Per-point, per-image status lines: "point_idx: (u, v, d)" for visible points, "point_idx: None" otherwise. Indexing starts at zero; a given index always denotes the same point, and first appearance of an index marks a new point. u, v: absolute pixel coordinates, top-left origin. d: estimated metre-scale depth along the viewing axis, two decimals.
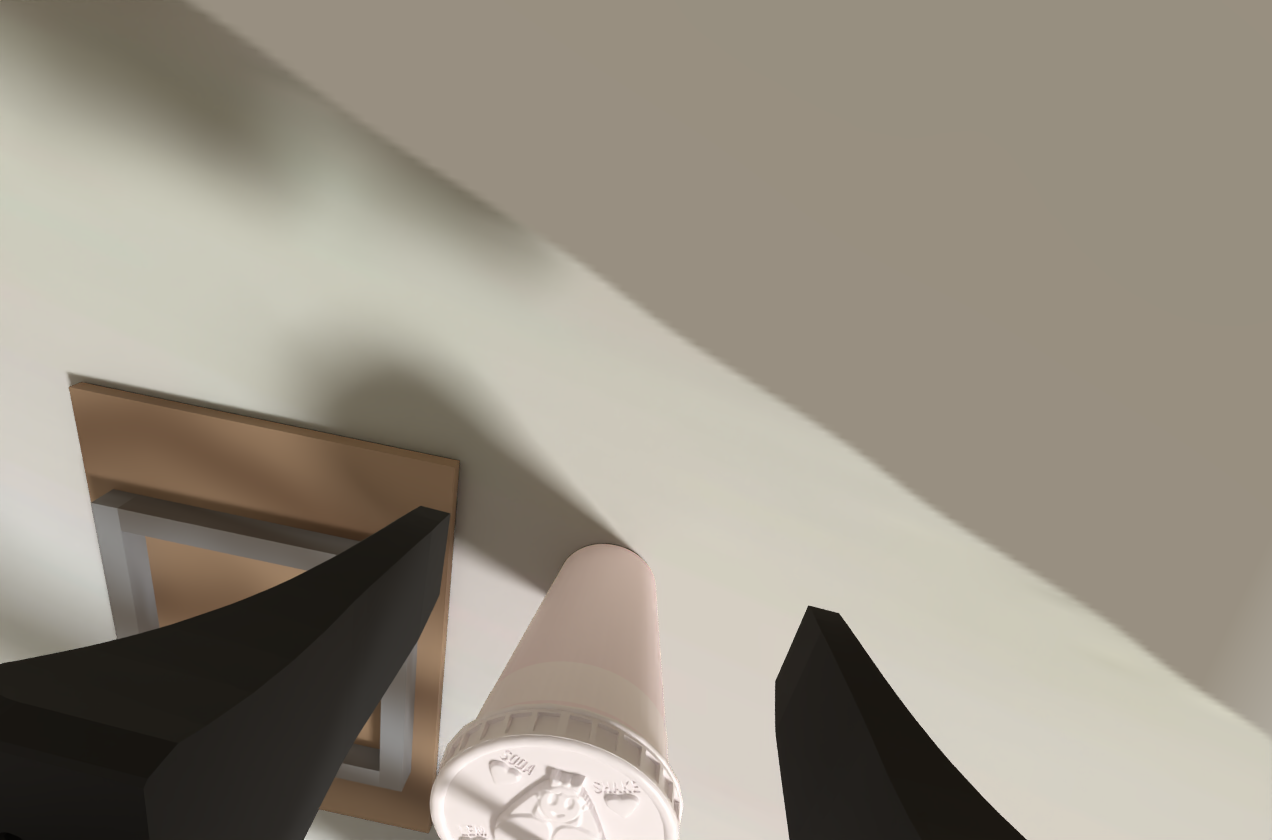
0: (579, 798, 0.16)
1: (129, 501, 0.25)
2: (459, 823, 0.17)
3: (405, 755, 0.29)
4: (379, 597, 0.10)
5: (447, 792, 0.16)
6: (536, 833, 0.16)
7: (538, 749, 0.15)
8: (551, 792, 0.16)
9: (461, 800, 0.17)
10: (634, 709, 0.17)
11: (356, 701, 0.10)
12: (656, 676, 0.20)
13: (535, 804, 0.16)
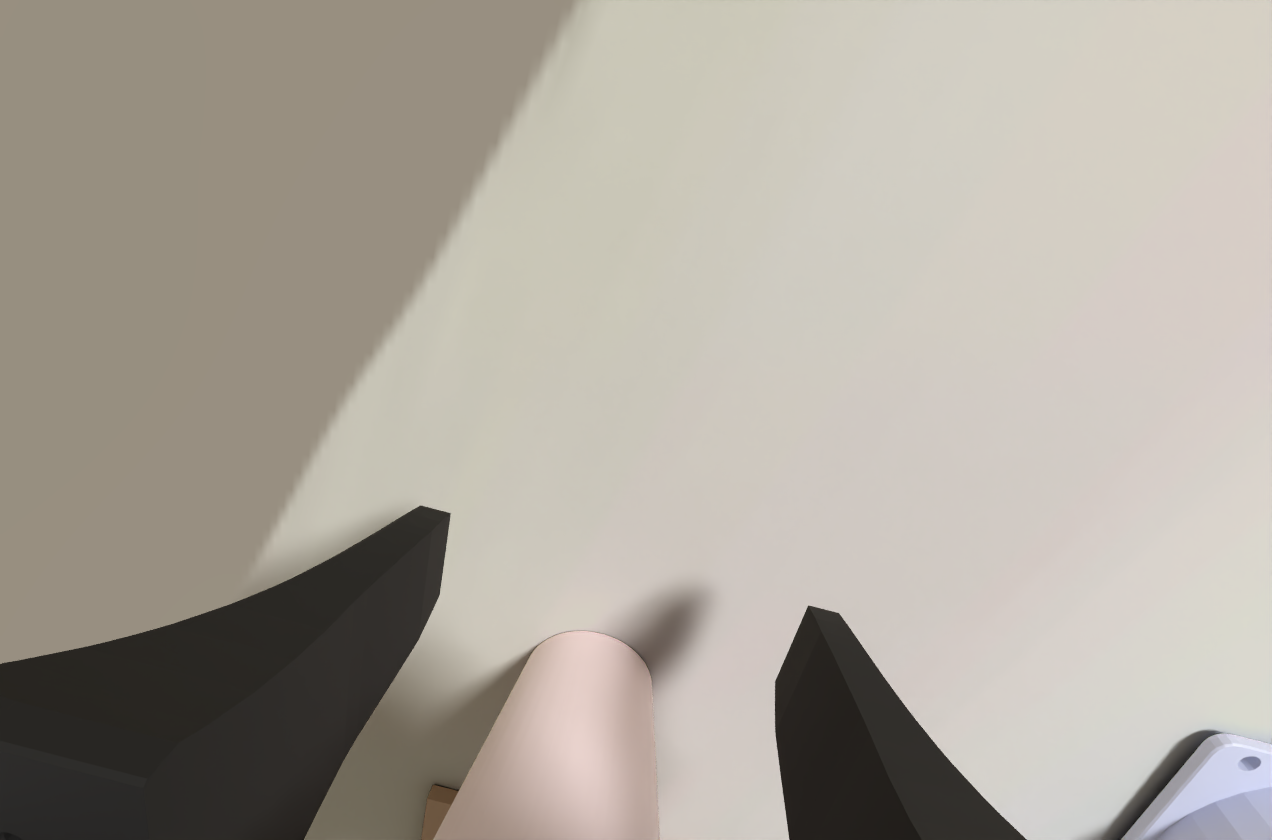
0: None
1: None
2: None
3: None
4: (379, 597, 0.10)
5: None
6: None
7: None
8: None
9: None
10: None
11: (356, 701, 0.10)
12: (492, 796, 0.13)
13: None
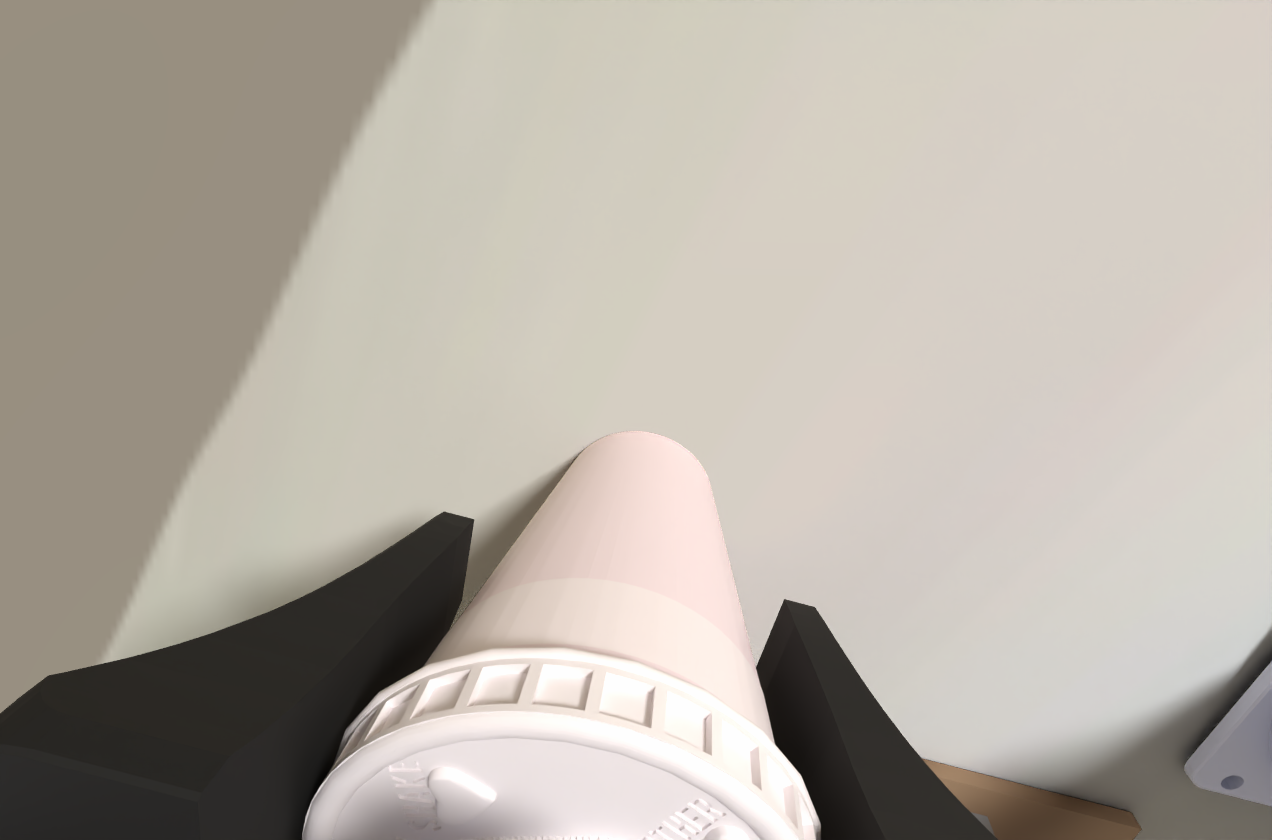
0: None
1: None
2: None
3: None
4: (408, 605, 0.10)
5: None
6: None
7: None
8: None
9: None
10: (439, 651, 0.09)
11: None
12: (546, 542, 0.11)
13: None
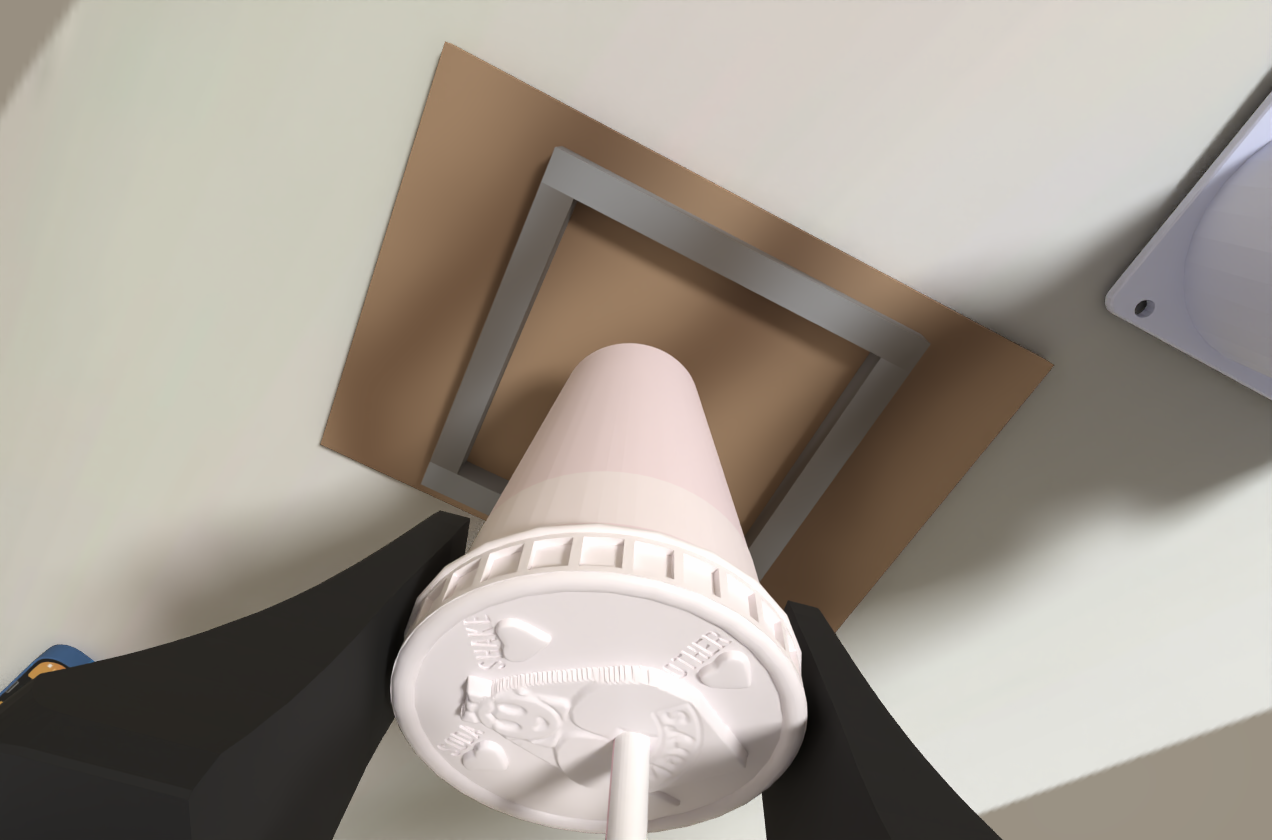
0: (498, 696, 0.10)
1: None
2: (607, 809, 0.11)
3: (871, 312, 0.19)
4: (403, 604, 0.10)
5: (540, 812, 0.11)
6: (593, 750, 0.10)
7: (422, 719, 0.10)
8: (493, 724, 0.10)
9: (557, 801, 0.11)
10: (484, 535, 0.11)
11: (380, 707, 0.10)
12: (564, 443, 0.12)
13: (528, 742, 0.10)
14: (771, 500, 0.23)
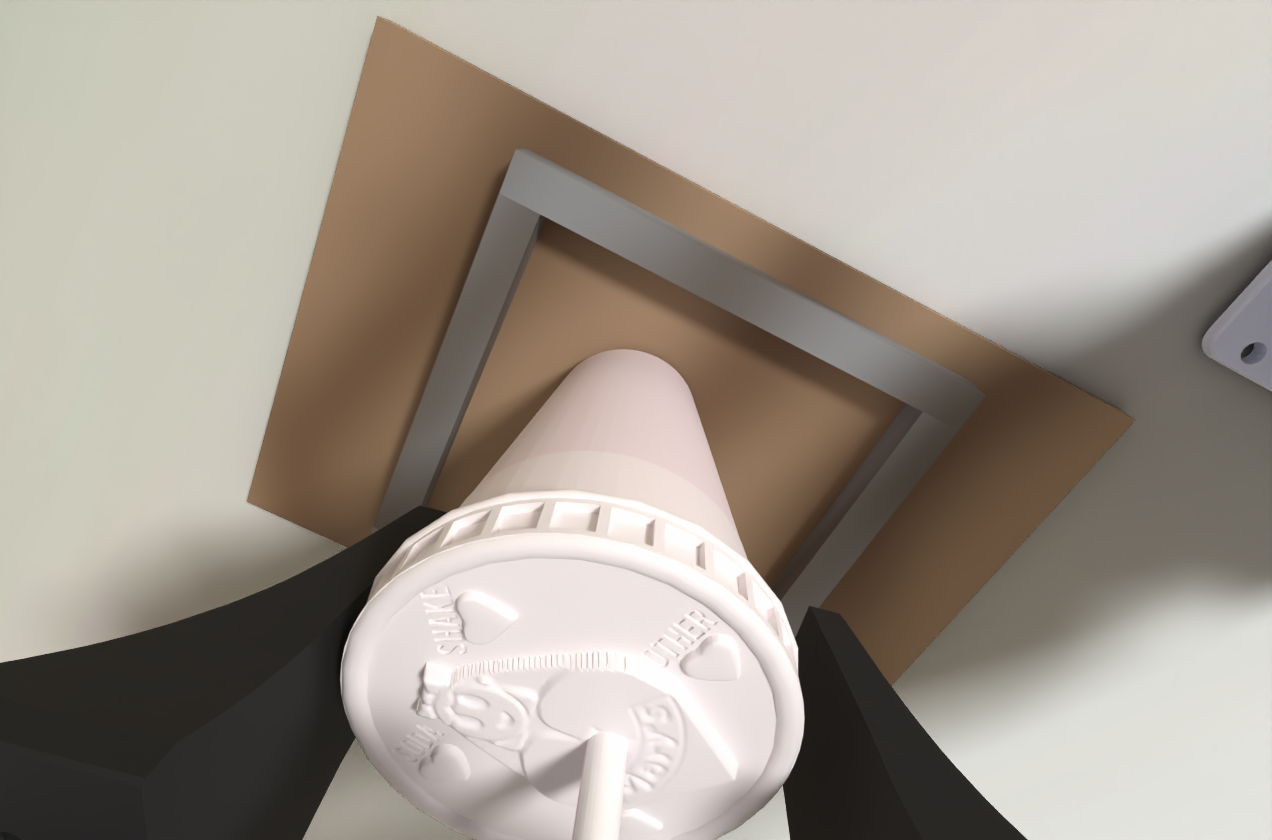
0: (458, 685, 0.09)
1: None
2: None
3: (912, 356, 0.16)
4: None
5: (506, 835, 0.10)
6: (564, 755, 0.09)
7: (374, 715, 0.09)
8: (452, 720, 0.09)
9: (525, 822, 0.10)
10: None
11: None
12: (547, 430, 0.12)
13: (491, 744, 0.09)
14: (783, 574, 0.19)
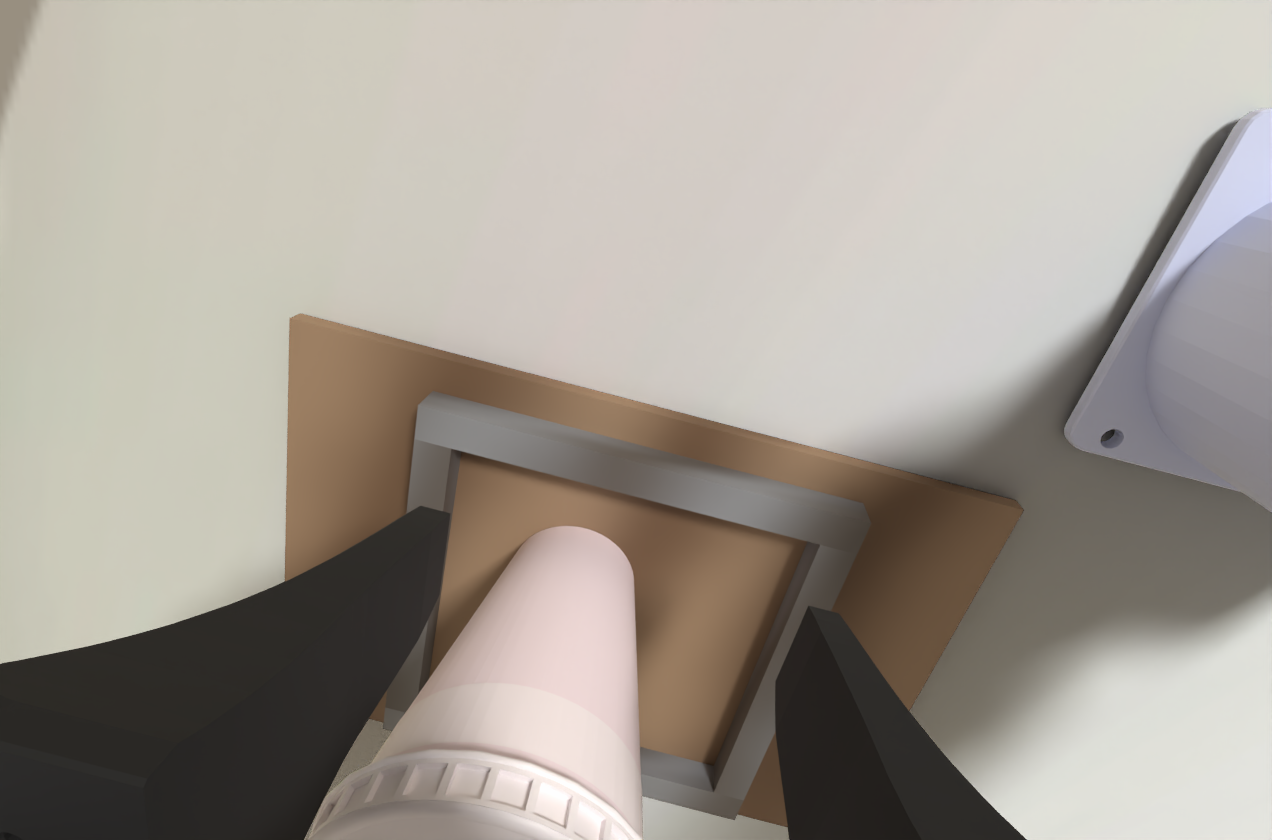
0: None
1: None
2: None
3: (798, 498, 0.17)
4: (379, 597, 0.10)
5: None
6: None
7: None
8: None
9: None
10: None
11: (356, 701, 0.10)
12: (458, 652, 0.14)
13: None
14: (748, 687, 0.21)
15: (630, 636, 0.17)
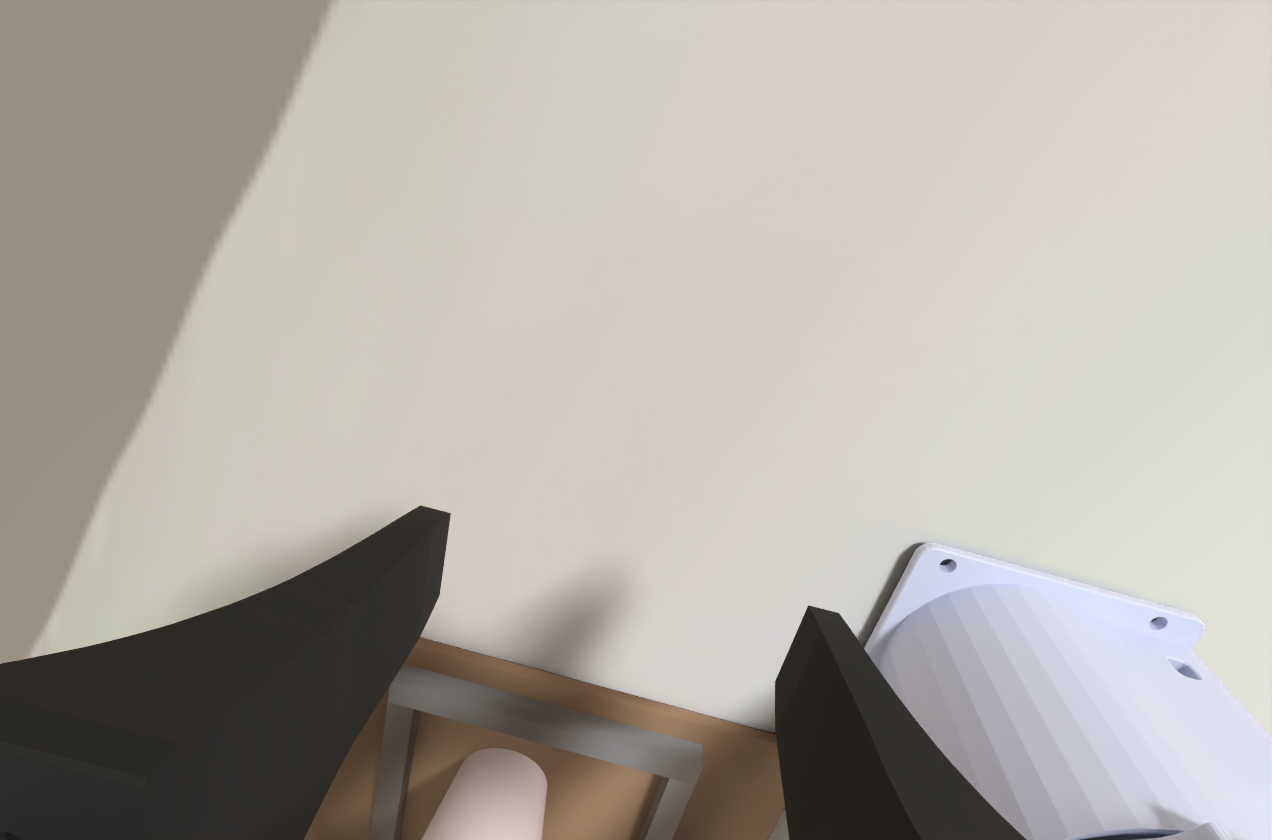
0: None
1: None
2: None
3: (654, 747, 0.25)
4: (379, 597, 0.10)
5: None
6: None
7: None
8: None
9: None
10: None
11: (356, 701, 0.10)
12: None
13: None
14: None
15: None
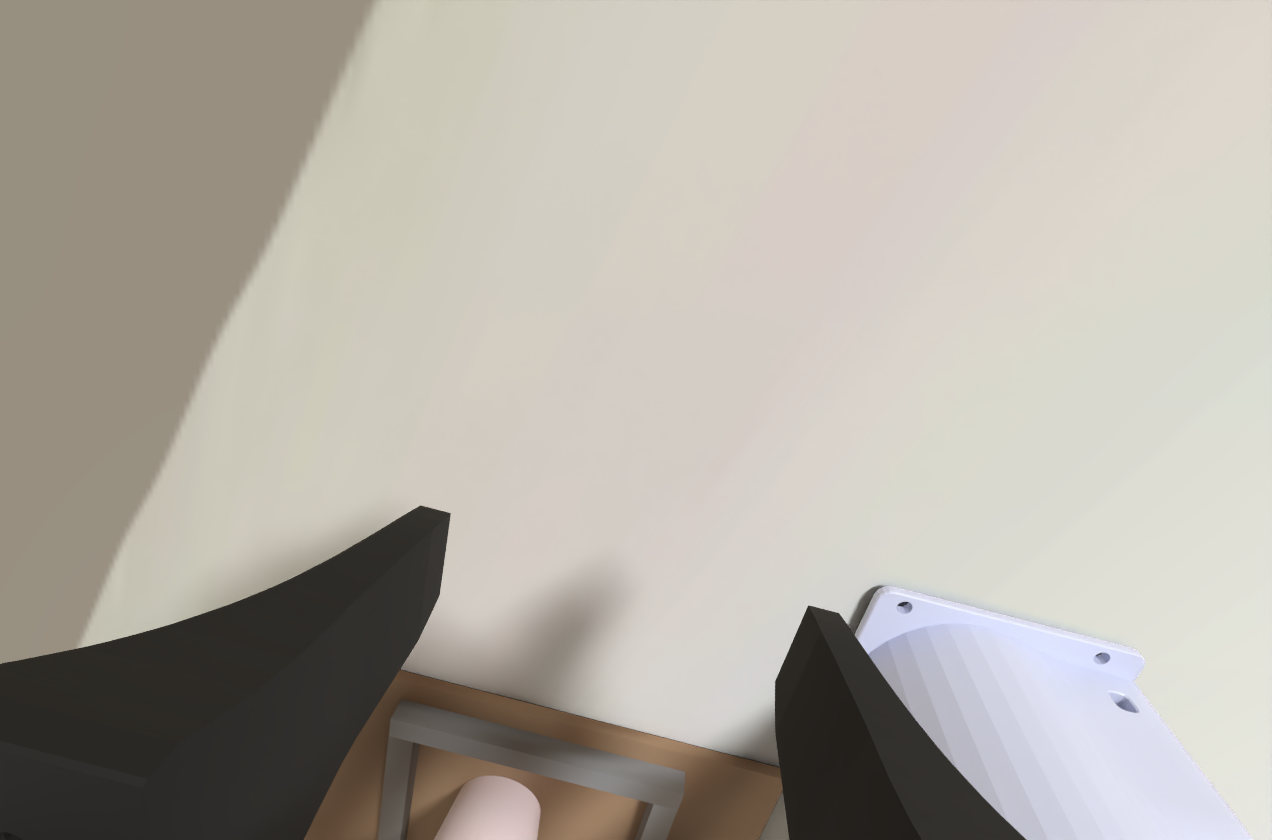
0: None
1: None
2: None
3: (638, 775, 0.27)
4: (379, 597, 0.10)
5: None
6: None
7: None
8: None
9: None
10: None
11: (356, 701, 0.10)
12: None
13: None
14: None
15: None
